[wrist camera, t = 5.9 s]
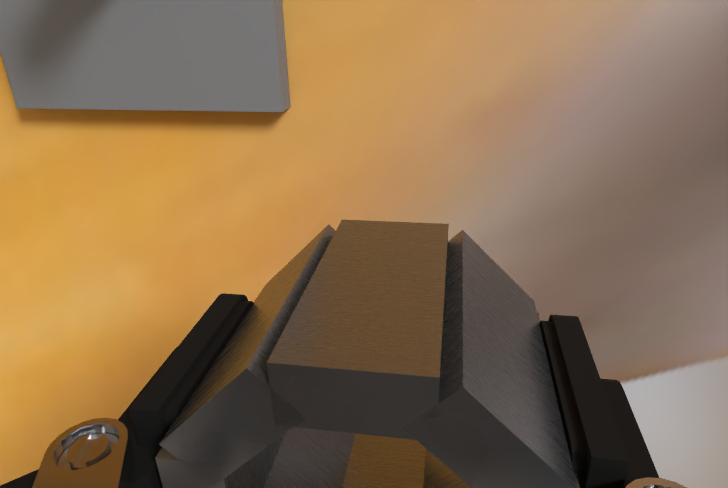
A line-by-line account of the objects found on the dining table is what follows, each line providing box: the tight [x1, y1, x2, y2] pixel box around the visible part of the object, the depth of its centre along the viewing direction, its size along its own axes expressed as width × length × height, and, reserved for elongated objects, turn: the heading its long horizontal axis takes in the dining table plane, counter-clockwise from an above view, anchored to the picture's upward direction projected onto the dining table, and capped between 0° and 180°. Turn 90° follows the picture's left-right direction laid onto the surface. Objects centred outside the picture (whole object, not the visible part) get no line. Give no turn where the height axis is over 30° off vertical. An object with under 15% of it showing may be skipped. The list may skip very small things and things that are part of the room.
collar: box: [155, 220, 580, 488], centre depth 11 cm, size 6×6×5 cm
